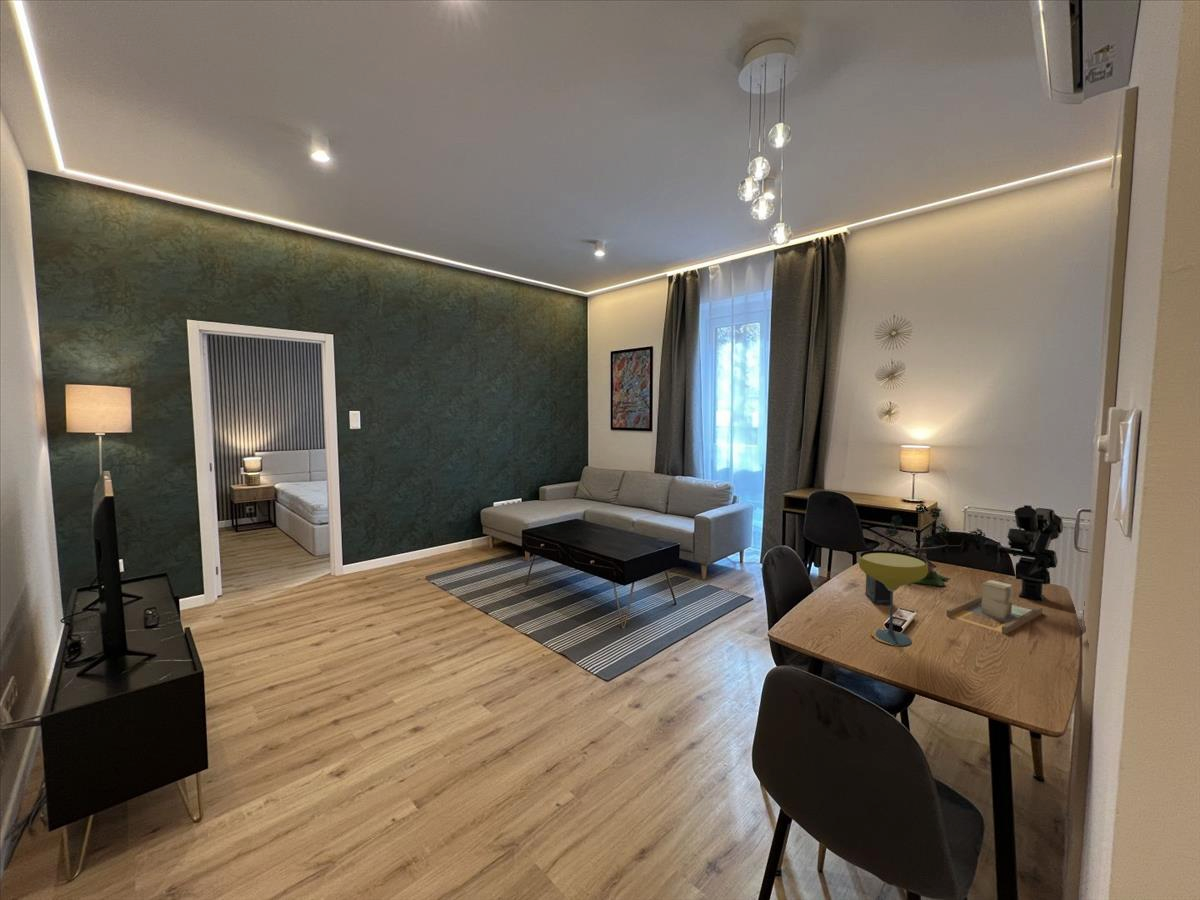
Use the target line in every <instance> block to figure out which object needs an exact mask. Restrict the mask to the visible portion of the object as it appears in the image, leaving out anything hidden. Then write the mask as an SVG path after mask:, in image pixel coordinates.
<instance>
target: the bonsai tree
mask: <svg viewBox="0 0 1200 900" xmlns="http://www.w3.org/2000/svg"><path fill="white" fill-rule="evenodd" d="M929 511H930V512H929ZM941 511H942V509H940V508H939V507H933V508H930V509H929V508H928V507H927V506H926V505H925V504H924V503H919V504H917V505H916V507H915V511H914V512H915V513H918V514H922V515H923V517H924V518H925V519H926V521H927V522H928V524H929V525H930V527H931V528H932V529H933V530H934V531H935V533H936V534H938V535H939V537H940V538H942V539H943V541H944V542H945V544H944V545H937V544H935V543H934V542H935V541H936V539H935V537H933V536H931V535H930V534H925V535H924V536H923V537H921V538H918V535H917V534H915V537H916V539H918V540H919V541H920V542H922V543H925V544H924V545H923V546H922V547H921V548H920V547H919V546H918V545H919V543H918V541H915V544H913V545H909V543H907V542H906V541H903V540H902V539H901V537H902V536H903V535H905V534H906V533H908V532H909V531H910V530H911V528H910V527H909V526H908V525H911V526H912V524H911V523H908V522H907V523H908V525H906V527H907V528H908V530H907V531H905V532H903V533H902V534H900V535H899V537H898V539H899V541H901V542H902V543H903V544H905V545H906V547H905V548H904V549H902V550H901V549H899V548H896V549H895V548H892V547H893V546H894V543H893V542H892V541H891V540H889V539H887V538H891V537H896V536H898V534H899V533H900V532H899V531H898V528H902V527H903V526H904V524H903V520H904V519H903V518H902V517H901V515H900V514H898V515H893V516H892V517H891V521H890V524H889V527H888V528H885V532H884V534H885V535H887V536H883V537H881V539H882V540H883V541H885V542H887V543H890V545H889V546H888V547H887V548H886V550H887V551H897V552H903V553H908V554H912V555H916V556H918V555H920V557H921V558H923V559H925V560H926V561H927V563H928V573H927V575H926V577H925V578H923V579H921V580H920V581H917V582H914V583H913V584H917V585H918V584H919V585H928V586H929V585H930V586H935V587H939V588H943V586H944V585H945V582H944V580H945V581H948V580H950V578H949V577H947V576H943V575H941V574H939V573H938V572H937V570H934V569H935V568H937V567H938V566H937V565H936V564H935V563H933V562H932V561H931V560H929V559H928V558H927V551H929V550H936V549H942V548H945V547H947V546H948V547H952V545H949V543H948V541H947V540H946V539H945V538H944V536H947V535H948V533H949V532H950V530H951V529H950V528H949V527H947V525H946V524H945V523H943V520H940V521H941V522H942V523H940V525H936V526H935V524H936V522H938V518H939V517H940V516H941V514H940V512H941ZM925 512H928V514H929V515H930V516H931V518H933V520H935V519H936V521H935V522H934V523H933V526H932V525H931V523H930V522H929V520H928V519H927V518H926V515H925V514H924V513H925ZM945 518H947V519H948V517H945ZM891 524H892V525H891ZM913 528H914V531H915V533H917V531H916V529H915V527H913ZM937 530H938V531H939V532H938V531H937ZM968 533H969V535H973V538H974V540H976V541H977V542H979V541H980V542H983V539H984V538H985V537H987V536H986V533H985V532H983V530H982V529H980V528H978V527H977V528H976V529H975V530H972V531H971V530H970V531H968ZM963 542H964V540H962V542H961V543H960V545H957V544H955V545H954V547H960V546H961V545H962V544H963ZM926 544H928V545H930V547H925V545H926ZM914 547H915V548H914ZM910 548H914V549H910ZM890 549H891V550H890ZM916 552H921V553H916Z"/></svg>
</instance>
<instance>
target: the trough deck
mask: <svg viewBox="0 0 1200 900" xmlns="http://www.w3.org/2000/svg"><path fill="white" fill-rule="evenodd" d="M981 612H982V593H981V594H978V595H977V596H975V597H972V598H970V599H968V600H966V601H964V602H961V603H960V604H959V603H958V604H957V605H955V606H952V607H950V608H948V609H946V617H949V618H952V619H955V620H958V621H961V622H965V623H968V624H971V625H975V626H979V627H980V628H981V627H982V628H984V629H987V630H991V631H994V632H997V633H1001V634H1004V635H1007V634H1008V633H1009V634H1010V632H1012V631H1014V630H1016V629H1018V628H1020V627H1021V626H1023V625H1025V624H1026V623H1028V622H1030V621H1031V620H1033V619H1035V618H1037V617H1038V616H1040V615H1043V607H1041V606H1037V607H1035V608H1033V609H1028V608H1026V607H1025V608H1024V607H1022V606H1017V605H1014V604H1012V614H1011V615H1010V616H1008V617H1006V618H1004V619H1002V618H998V617H995V616H991V615H988V614H984V613H981ZM972 614H977V615H980V616H983V617H987V618H991V619H994V620H997V621H1001V622H1004V623H1002V624H999V626H997V627H993V626H989V625H985V624H983V623H982V624H981V623H980V622H976V621H972V620H969V619H966V617H967V616H969V615H972Z"/></svg>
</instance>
